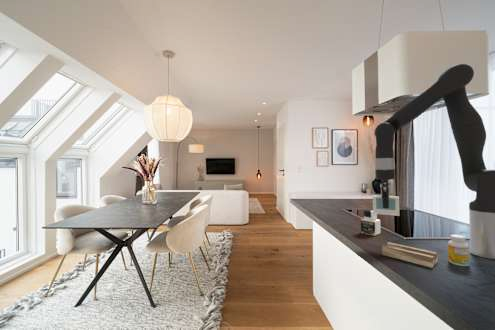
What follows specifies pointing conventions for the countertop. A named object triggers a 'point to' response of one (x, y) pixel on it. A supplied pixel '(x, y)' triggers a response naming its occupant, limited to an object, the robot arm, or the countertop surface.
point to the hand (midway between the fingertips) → (386, 207)
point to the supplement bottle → (458, 250)
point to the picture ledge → (410, 254)
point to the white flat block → (391, 210)
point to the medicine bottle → (370, 223)
